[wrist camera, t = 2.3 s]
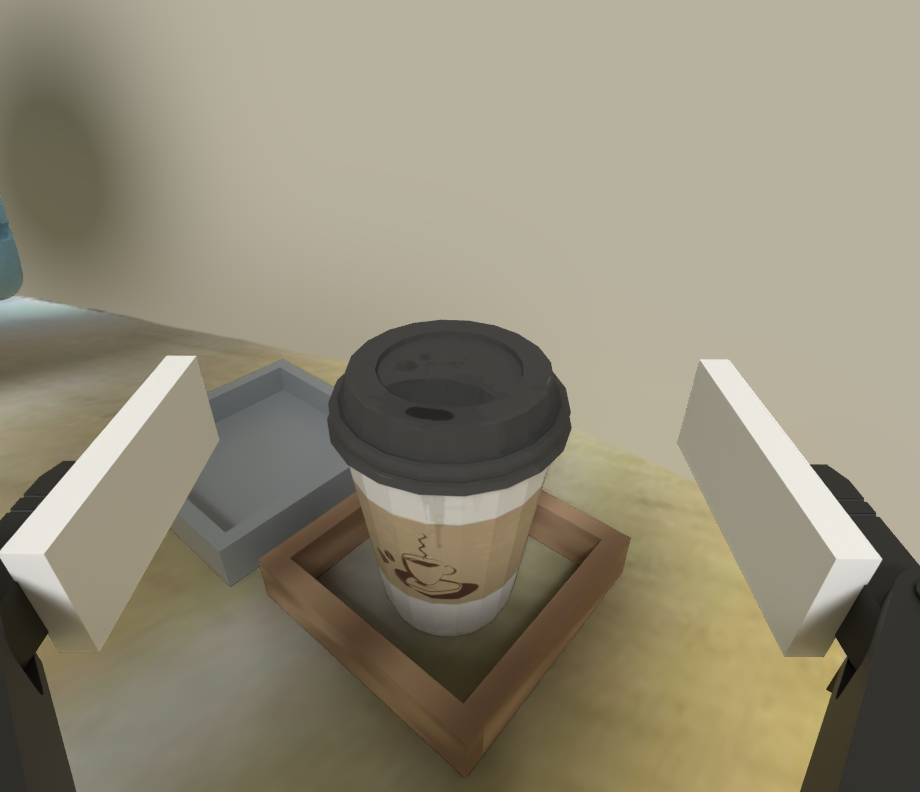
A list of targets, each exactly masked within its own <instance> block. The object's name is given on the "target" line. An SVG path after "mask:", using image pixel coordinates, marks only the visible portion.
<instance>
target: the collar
mask: <svg viewBox="0 0 920 792" xmlns="http://www.w3.org/2000/svg"><path fill="white" fill-rule="evenodd" d="M529 535H530V536H531V537H533V538H535V539H536V540H538V541H540V542H541V543H543V544H545V545H546V546H548V547H550V548H551V549H553V550H555V551H556V552H558V553H560V554H561V555H563V556H565V557H566V558H568V559H570V560H571V561H573V562H575V563H576V564H578V565H580V566H579V567H578V569H577V570H576V571H575V572H574V573H573V575H572V576H571V577H570V578H569V579H568V580H567V582H566V583H565V584H564V585H563V586H562V588H561V589H560V590H559V591H558V592H557V593H556V595H555V596H554V597H553V598H552V599H551V601H550V602H549V603H548V604H547V605H546V606H545V608H544V609H543V610H542V611H541V612H540V614H539V615H538V616H537V617H536V618H535V619H534V621H533V622H532V623H531V624H530V625H529V627H528V628H527V629H526V630H525V631H524V633H523V634H522V635H521V636H520V637H519V638H518V640H517V641H516V642H515V643H514V644H513V646H512V647H511V648H510V649H509V650H508V651H507V653H506V654H505V655H504V656H503V657H502V659H501V660H500V661H499V662H498V663H497V664H496V666H495V667H494V668H493V669H492V670H491V672H490V673H489V674H488V675H487V676H486V677H485V679H484V680H483V681H482V682H481V683H480V685H479V686H478V687H477V688H476V689H475V690H474V692H473V693H472V694H471V695H470V696H469V698H468V699H467V700H466V701H465V702H464V703H462V702H460V701H459V700H458V699H457V698H456V697H455V696H453V695H452V694H451V693H450V692H449V691H447V690H446V689H445V688H444V687H443V686H441V685H440V684H439V683H438V682H437V681H436V680H434V679H433V678H432V677H431V676H430V675H428V674H427V673H426V672H425V671H424V670H423V669H421V668H420V667H419V666H418V665H417V664H415V663H414V662H413V661H412V660H411V659H409V658H408V657H407V656H406V655H405V654H404V653H402V652H401V651H400V650H399V649H398V648H396V647H395V646H394V645H393V644H392V643H390V642H389V641H388V640H387V639H386V638H385V637H383V636H382V635H381V634H380V633H379V632H377V631H376V630H375V629H374V628H373V627H372V626H370V625H369V624H368V623H367V622H366V621H364V620H363V619H362V618H361V617H360V616H358V615H357V614H356V613H355V612H354V611H353V610H351V609H350V608H349V607H348V606H347V605H345V604H344V603H343V602H342V601H341V600H339V599H338V598H337V597H336V596H335V595H334V594H332V593H331V592H330V591H329V590H328V589H326V588H325V587H324V586H323V585H322V584H320V583H319V582H318V581H317V580H316V578H317V577H319V576H320V575H321V574H323V573H324V572H325V571H326V570H328V569H329V568H330V567H332V566H333V565H334V564H335V563H337V562H338V561H339V560H341V559H342V558H343V557H345V556H346V555H347V554H348V553H350V552H351V551H352V550H354V549H355V548H356V547H357V546H359V545H360V544H361V543H363V542H364V541H365V540H367V539H368V538H369V537H370V535H369V532H368V529H367V525H366V522H365V518H364V515H363V511H362V508H361V505H360V501H359V498H358V494H357V492H355V493H354V494H352V495H351V496H349V497H348V498H346V499H345V500H344V501H342V502H341V503H339V504H338V505H336V506H335V507H333V508H332V509H331V510H329V511H328V512H326V513H325V514H323V515H322V516H320V517H319V518H318V519H316V520H315V521H313V522H312V523H310V524H309V525H307V526H306V527H305V528H303V529H302V530H300V531H299V532H297V533H296V534H294V535H293V536H292V537H290V538H289V539H287V540H286V541H284V542H283V543H281V544H280V545H279V546H277V547H276V548H274V549H273V550H271V551H270V552H268V553H267V554H266V555H264V556H263V557H261V558H260V559H258V560H259V564H260V568H261V572H262V575H263V579H264V583H265V586H266V590H267V594H268V595H269V596H270V597H271V598H272V599H273V600H274V601H275V602H276V603H277V604H278V605H279V606H280V607H282V608H283V609H284V610H285V611H286V612H287V613H288V614H289V615H290V616H291V617H292V618H293V619H294V620H296V621H297V622H298V623H299V624H300V625H301V626H302V627H303V628H304V629H305V630H306V631H307V632H308V633H310V634H311V635H312V636H313V637H314V638H315V639H316V640H317V641H318V642H319V643H320V644H321V645H322V646H324V647H325V648H326V649H327V650H328V651H329V652H330V653H331V654H332V655H333V656H334V657H335V658H336V659H338V660H339V661H340V662H341V663H342V664H343V665H344V666H345V667H346V668H347V669H348V670H349V671H350V672H352V673H353V674H354V675H355V676H356V677H357V678H358V679H359V680H360V681H361V682H362V683H363V684H364V685H366V686H367V687H368V688H369V689H370V690H371V691H372V692H373V693H374V694H375V695H376V696H377V697H378V698H380V699H381V700H382V701H383V702H384V703H385V704H386V705H387V706H388V707H389V708H390V709H391V710H392V711H394V712H395V713H396V714H397V715H398V716H399V717H400V718H401V719H402V720H403V721H404V722H405V723H406V724H408V725H409V726H410V727H411V728H412V729H413V730H414V731H415V732H416V733H417V734H418V735H419V736H420V737H422V738H423V739H424V740H425V741H426V742H427V743H428V744H429V745H430V746H431V747H432V748H433V749H434V750H436V751H437V752H438V753H439V754H440V755H441V756H442V757H443V758H444V759H445V760H446V761H447V762H448V763H450V764H451V765H452V766H453V767H454V768H455V769H456V770H457V771H458V772H459V773H460V774H461V775H462V776H464V777H465V778H466V777H467V776H468V775H469V773H470V772H471V771H472V769H473V768H474V767H475V765H476V764H477V763H478V761H479V760H480V759H481V757H482V756H483V755H484V754H485V752H486V751H487V750H488V748H489V747H490V746H491V744H492V743H493V742H494V740H495V739H496V738H497V736H498V735H499V734H500V732H501V731H502V730H503V729H504V727H505V726H506V725H507V723H508V722H509V721H510V719H511V718H512V717H513V715H514V714H515V713H516V711H517V710H518V709H519V707H520V706H521V705H522V704H523V702H524V701H525V700H526V698H527V697H528V696H529V694H530V693H531V692H532V690H533V689H534V688H535V686H536V685H537V684H538V682H539V681H540V680H541V678H542V677H543V676H544V675H545V673H546V672H547V671H548V669H549V668H550V667H551V665H552V664H553V663H554V661H555V660H556V659H557V657H558V656H559V655H560V653H561V652H562V651H563V650H564V648H565V647H566V646H567V644H568V643H569V642H570V640H571V639H572V638H573V636H574V635H575V634H576V632H577V631H578V630H579V628H580V627H581V626H582V625H583V623H584V622H585V621H586V619H587V618H588V617H589V615H590V614H591V613H592V611H593V610H594V609H595V607H596V606H597V605H598V603H599V602H600V601H601V600H602V598H603V597H604V596H605V594H606V593H607V592H608V590H609V589H610V588H611V586H612V585H613V584H614V582H615V581H616V580H617V578H618V577H619V576H620V574H621V573H622V571H623V567H624V563H625V559H626V555H627V551H628V547H629V543H630V539H631V538H630V537H628V536H626V535H624V534H622V533H620V532H619V531H617V530H615V529H613V528H611V527H609V526H607V525H606V524H604V523H602V522H600V521H598V520H596V519H595V518H593V517H591V516H589V515H587V514H585V513H583V512H582V511H580V510H578V509H576V508H574V507H572V506H570V505H569V504H567V503H565V502H563V501H561V500H559V499H557V498H556V497H554V496H552V495H550V494H548V493H546V492H544V491H543V490H542V491H541V494H540V498H539V501H538V505H537V508H536V511H535V515H534V518H533V521H532V525H531V528H530V532H529Z"/></svg>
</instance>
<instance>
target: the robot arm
mask: <svg viewBox="0 0 920 792" xmlns="http://www.w3.org/2000/svg"><path fill="white" fill-rule="evenodd" d="M22 283H23V273H22V268H21V263H20V259H19V255H18V251H17V247H16V244H15V241H14V238H13V234H12V232H11V229H10V228H9V221H8V218H7V215H6V211H5V207H4V204H3V200H2V198H1V194H0V300H5V299H8V298H10V297H12V296H14V295H15V294H16V293H17V292H18V291H19V290H20V288H21V286H22ZM218 442H219V436H218V432H217V429H216V425H215V422H214V418H213V414H212V411H211V407H210V404H209V400H208V396H207V393H206V389H205V386H204V382H203V378H202V375H201V371H200V368H199V364H198V360H197V357H196V356H166V357H165V358H164V360H163V361H162V362H161V363H160V364H159V365H158V367H157V368H156V369H155V370H154V371H153V372H152V374H151V375H150V376H149V377H148V378H147V379H146V381H145V382H144V383H143V384H142V385H141V386H140V388H139V389H138V390H137V391H136V392H135V393H134V395H133V396H132V397H131V398H130V399H129V401H128V402H127V403H126V404H125V405H124V406H123V408H122V409H121V410H120V411H119V412H118V413H117V415H116V416H115V417H114V418H113V419H112V420H111V422H110V423H109V424H108V425H107V426H106V427H105V429H104V430H103V431H102V432H101V433H100V434H99V436H98V437H97V438H96V439H95V440H94V441H93V443H92V444H91V445H90V446H89V447H88V448H87V450H86V451H85V452H84V453H83V454H82V455H81V457H80V458H79V459H78V460H77V461H63V462H61V463H60V464H58V465H57V466H55V467H54V468H52V469H51V470H49V471H48V472H46V473H45V474H43V475H42V476H40V477H39V478H38V479H37V480H36V481H35V483H34V484H33V485H32V486H31V487H30V488H29V489H28V490H27V491H26V492H25V494H24V497H23V498H20V499H19V500H18V501H17V502H16V504H15V505H14V506H13V507H12V508H11V512H10V513H6V515H5V516H4V517H3V518H2V519H1V520H0V792H76V789H75V785H74V781H73V778H72V774H71V770H70V766H69V763H68V759H67V755H66V751H65V747H64V744H63V740H62V736H61V732H60V729H59V725H58V721H57V717H56V713H55V710H54V706H53V702H52V698H51V694H50V691H49V687H48V683H47V679H46V676H45V672H44V668H43V664H42V662H41V660H40V659H39V657H38V656H37V654H36V653H35V652H36V651H37V649H38V648H39V646H40V645H41V643H42V642H43V640H44V639H45V637H46V636H47V634H48V635H49V637H50V638H51V640H52V641H53V643H54V645H55V646H56V648H57V649H58V651H59V653H100V651H101V649H102V647H103V646H104V644H105V642H106V640H107V639H108V637H109V635H110V633H111V631H112V630H113V628H114V626H115V624H116V623H117V621H118V619H119V617H120V616H121V614H122V612H123V610H124V608H125V607H126V605H127V603H128V601H129V600H130V598H131V596H132V594H133V592H134V591H135V589H136V587H137V585H138V584H139V582H140V580H141V578H142V577H143V575H144V573H145V571H146V569H147V568H148V566H149V564H150V562H151V561H152V559H153V557H154V555H155V553H156V552H157V550H158V548H159V546H160V545H161V543H162V541H163V539H164V538H165V536H166V534H167V532H168V530H169V529H170V527H171V525H172V523H173V522H174V520H175V518H176V516H177V514H178V513H179V511H180V509H181V507H182V506H183V504H184V502H185V500H186V498H187V497H188V495H189V493H190V491H191V490H192V488H193V486H194V484H195V483H196V481H197V479H198V477H199V475H200V474H201V472H202V470H203V468H204V467H205V465H206V463H207V461H208V459H209V458H210V456H211V454H212V452H213V451H214V449H215V447H216V445H217V444H218ZM677 444H678V446H679V448H680V450H681V452H682V454H683V455H684V458H685V460H686V461H687V463H688V466H689V467H690V470H691V471H692V474H693V475H694V477H695V480H696V482H697V483H698V485H699V487H700V489H701V491H702V493H703V495H704V497H705V499H706V501H707V503H708V505H709V507H710V509H711V511H712V513H713V515H714V517H715V519H716V521H717V523H718V525H719V527H720V529H721V531H722V533H723V535H724V537H725V539H726V541H727V543H728V545H729V547H730V549H731V551H732V553H733V555H734V557H735V559H736V561H737V563H738V565H739V567H740V569H741V571H742V573H743V575H744V577H745V579H746V581H747V583H748V585H749V587H750V589H751V591H752V593H753V595H754V597H755V599H756V601H757V603H758V605H759V607H760V609H761V611H762V613H763V615H764V617H765V619H766V621H767V623H768V625H769V627H770V629H771V631H772V633H773V635H774V637H775V639H776V641H777V643H778V645H779V647H780V649H781V651H782V653H783V655H784V657H824V656H825V654H826V653H827V651H828V649H829V648H830V646H831V644H832V643H833V641H834V639H835V638H837V640H838V642H839V643H840V645H841V647H842V648H843V650H844V652H845V653H846V655H847V657H846V659H845V660H844V662H843V663H842V665H841V667H840V668H839V670H838V671H837V673H836V674H835V676H834V678H833V679H832V681H831V682H830V684H829V685H828V687H827V689H826V690H828V691H830V692H832V695H831V698H830V701H829V704H828V707H827V710H826V713H825V716H824V719H823V722H822V725H821V729H820V732H819V735H818V738H817V741H816V744H815V747H814V750H813V753H812V756H811V759H810V763H809V766H808V769H807V772H806V775H805V778H804V781H803V784H802V787H801V790H800V792H920V566H919V564H918V563H917V562H916V561H915V559H914V558H913V557H912V556H911V555H910V553H909V552H908V551H907V550H906V549H905V547H904V546H903V545H902V544H901V543H900V541H899V540H898V539H897V538H896V537H895V535H894V534H893V533H892V532H891V531H890V529H889V528H888V527H887V526H886V525H885V523H884V522H883V521H882V520H881V518H880V517H876V512H875V511H874V510H873V509H872V507H871V506H870V505H869V504H868V503H867V502H864V498H863V497H862V496H861V494H860V493H859V492H858V491H857V489H856V488H855V487H854V486H853V485H852V484H851V482H850V481H849V480H848V479H846V478H845V477H844V476H842V475H841V474H839V473H838V472H837V471H835V470H834V469H832V468H831V467H829V466H828V465H811V464H809V463H808V462H807V461H806V459H805V458H804V457H803V455H802V454H801V453H800V451H799V450H798V449H797V448H796V446H795V445H794V444H793V442H792V441H791V440H790V439H789V437H788V436H787V435H786V434H785V432H784V431H783V429H782V428H781V427H780V425H779V424H778V423H777V422H776V420H775V419H774V418H773V416H772V415H771V414H770V412H769V411H768V410H767V409H766V407H765V406H764V405H763V404H762V402H761V401H760V399H759V398H758V397H757V396H756V394H755V393H754V392H753V390H752V389H751V388H750V386H749V385H748V384H747V383H746V381H745V380H744V379H743V377H742V376H741V375H740V373H739V372H738V371H737V370H736V368H735V367H734V366H733V364H732V363H731V362H730V360H703V359H702V360H701V359H700V360H699V364H698V367H697V371H696V375H695V379H694V383H693V386H692V390H691V393H690V397H689V401H688V405H687V408H686V412H685V416H684V420H683V423H682V427H681V431H680V434H679V438H678V442H677Z"/></svg>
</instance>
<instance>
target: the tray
mask: <svg viewBox="0 0 920 792" xmlns="http://www.w3.org/2000/svg"><path fill="white" fill-rule="evenodd" d="M333 389H334V387H333V386H331V385H329V384H327V383H326V382H324V381H322V380H320V379H318V378H316V377H315V376H313V375H311V374H309V373H307V372H306V371H304V370H302V369H300V368H298V367H297V366H295V365H293V364H291V363H289V362H288V361H286V360H284V359H281V360H279V361H277V362H275V363H272V364H270V365H268V366H266V367H264V368H261V369H259V370H257V371H255V372H252V373H250V374H248V375H246V376H244V377H241V378H239V379H237V380H235V381H233V382H230V383H228V384H226V385H224V386H221V387H219V388H217V389H215V390H213V391H210V392H208V393H207V396H208V400H209V404H210V407H211V411H212V414H213V418H214V422H215V425H216V429H217V432H218V436H219V442H218V444H217V445H216V447H215V449H214V451H213V452H212V454H211V456H210V458H209V459H208V461H207V463H206V465H205V467H204V468H203V470H202V472H201V474H200V475H199V477H198V479H197V481H196V483H195V484H194V486H193V488H192V490H191V491H190V493H189V495H188V497H187V498H186V500H185V502H184V504H183V506H182V507H181V509H180V511H179V513H178V514H177V516H176V518H175V520H174V522H173V523H172V525H171V527H170V529H171V530H172V531H173V532H174V533H175V534H176V535H177V536H178V537H179V538H181V539H182V540H183V541H184V542H185V543H186V544H187V545H188V546H189V547H190V548H191V549H192V550H193V551H194V552H195V553H196V554H197V555H198V556H199V557H200V558H201V559H202V560H203V561H204V562H205V563H206V564H207V565H208V566H209V567H210V568H211V569H212V570H213V571H214V572H215V573H217V574H218V575H219V576H220V577H221V578H222V579H223V580H224V581H225V582H226V583H227V584H228V585H229V586H230V587H231V586H232V585H234V584H235V583H237V582H238V581H239V580H241V579H242V578H244V577H245V576H247V575H248V574H249V573H251V572H252V571H254V570H255V569H256V568H258V567H259V566H260V564H259V560H258V559H260V558H261V557H263V556H264V555H266V554H267V553H268V552H270V551H271V550H273V549H274V548H276V547H277V546H279V545H280V544H281V543H283V542H284V541H286V540H287V539H289V538H290V537H292V536H293V535H294V534H296V533H297V532H299V531H300V530H302V529H303V528H305V527H306V526H307V525H309V524H310V523H312V522H313V521H315V520H316V519H318V518H319V517H320V516H322V515H323V514H325V513H326V512H328V511H329V510H331V509H332V508H333V507H335V506H336V505H338V504H339V503H341V502H342V501H344V500H345V499H346V498H348V497H349V496H351V495H352V494H354V493H355V492H357V491H356V487H355V484H354V481H353V477H352V474H351V470H350V467H349V466H348V465H347V464H346V462H345V461H344V460H343V458H342V457H341V456H340V454H339V453H338V452H337V451H336V449H335V448H334V447H333V445H332V444H331V443H330V436H329V430H328V423H327V418H328V415H329V407H328V402H329V399H330V397H331V394H332V392H333Z"/></svg>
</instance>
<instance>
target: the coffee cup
mask: <svg viewBox="0 0 920 792" xmlns="http://www.w3.org/2000/svg"><path fill="white" fill-rule="evenodd" d="M328 407H329V415H328V418H327V423H328V430H329V436H330V443H331V444H332V445H333V447H334V448H335V449H336V451H337V452H338V453H339V454H340V456H341V457H342V458H343V460H344V461H345V462H346V464H347V465H348V466H349V467H350V470H351V474H352V477H353V481H354V484H355V487H356V491H357V494H358V498H359V501H360V505H361V508H362V511H363V515H364V518H365V522H366V525H367V529H368V532H369V535H370V539H371V542H372V546H373V549H374V553H375V556H376V559H377V563H378V566H379V570H380V573H381V577H382V580H383V583H384V587H385V590H386V594H387V596H388V598H389V599H390V601H391V602H392V604H393V605H394V607H395V608H396V610H397V611H398V613H399V614H400V616H401V617H402V619H404V620H405V621H406V622H408V623H409V624H410V625H412V626H413V627H414V628H416V629H417V630H420V631H423V632H426V633H429V634H432V635H435V636H452V637H456V636H460V635H464V634H469V633H473V632H476V631H477V630H479V629H481V628H482V627H484V626H486V625H487V624H489V623H491V622H492V621H493V620H494V618H495V617H496V616H497V615H498V614H499V613H500V611H501V610H502V609H503V606H504V605H505V603H506V602H507V601H508V599H509V596H510V594H511V591H512V588H513V585H514V582H515V579H516V575H517V572H518V569H519V565H520V562H521V558H522V555H523V552H524V548H525V545H526V542H527V538H528V535H529V532H530V528H531V525H532V521H533V518H534V515H535V511H536V508H537V505H538V501H539V498H540V494H541V491H542V488H543V484H544V481H545V478H546V474H547V471H548V468H549V465H550V464H551V463H552V462H553V461H554V460H555V459H556V458H557V457H558V456H559V455H560V454H561V453H562V452H563V451H564V448H565V445H566V442H567V440H568V437H569V434H570V431H571V428H572V427H571V422H570V418H569V416H570V413H571V412H570V407H569V402H568V397H567V392H566V388H565V387H564V385H563V384H562V383H561V382H560V380H559V379H558V378H557V376H556V375H555V374H554V373H553V371H552V366H551V362H550V361H549V359H548V358H547V357H546V356H545V354H544V353H543V352H542V351H541V349H540V348H539V347H538V346H536V345H535V344H533V343H532V342H530V341H529V340H527V339H525V338H524V337H522V336H521V335H519V334H517V333H514V332H512V331H509V330H506V329H503V328H500V327H498V326H495V325H489V324H484V323H478V322H472V321H459V320H436V321H428V322H418V323H412V324H409V325H405V326H401V327H398V328H395V329H391V330H388V331H386V332H384V333H382V334H380V335H379V336H376V337H374V338H372V339H370V340H368V341H367V342H366V343H365V344H364V345H363V346H361V347H360V348H359V349H358V350H357V351H356V352H355V353H354V354H353V355H352V356H351V358H350V361H349V364H348V366H347V369H346V371H345V373H344V374H343V375H342V376H341V377H340V378H339V379H338V380H337V382H336V384H335V387H334V389H333V392H332V394H331V397H330V399H329V402H328Z"/></svg>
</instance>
